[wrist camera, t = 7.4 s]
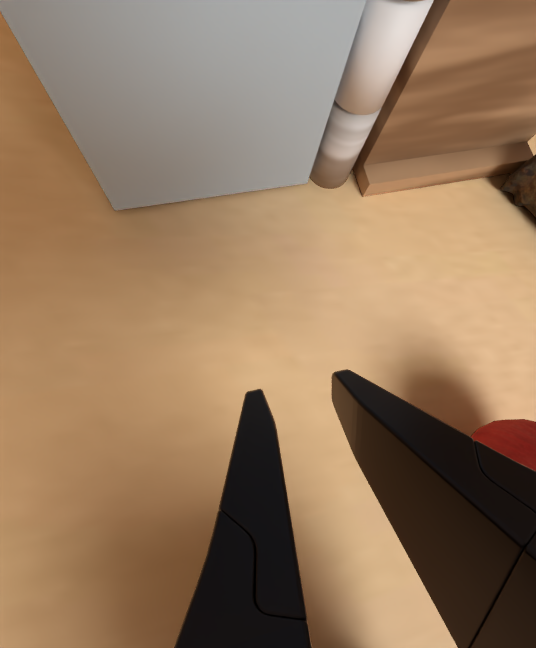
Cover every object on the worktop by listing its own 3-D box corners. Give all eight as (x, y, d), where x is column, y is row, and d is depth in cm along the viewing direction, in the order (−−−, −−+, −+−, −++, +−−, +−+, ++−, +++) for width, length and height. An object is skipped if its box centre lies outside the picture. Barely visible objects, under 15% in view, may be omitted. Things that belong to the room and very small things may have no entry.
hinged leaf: (354, 182, 25) (621, -323, 8) (115, 217, 23) (-247, -399, 6) (343, 147, 26) (566, -392, 9) (109, 177, 24) (-230, -485, 6)
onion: (538, 496, 21) (709, 542, 14) (458, 540, 20) (596, 615, 13) (489, 404, 23) (623, 399, 15) (412, 441, 22) (512, 455, 14)
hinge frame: (520, 171, 27) (1041, -270, 10) (317, 203, 25) (522, -306, 7) (495, 118, 28) (925, -366, 11) (299, 143, 26) (440, -426, 8)
